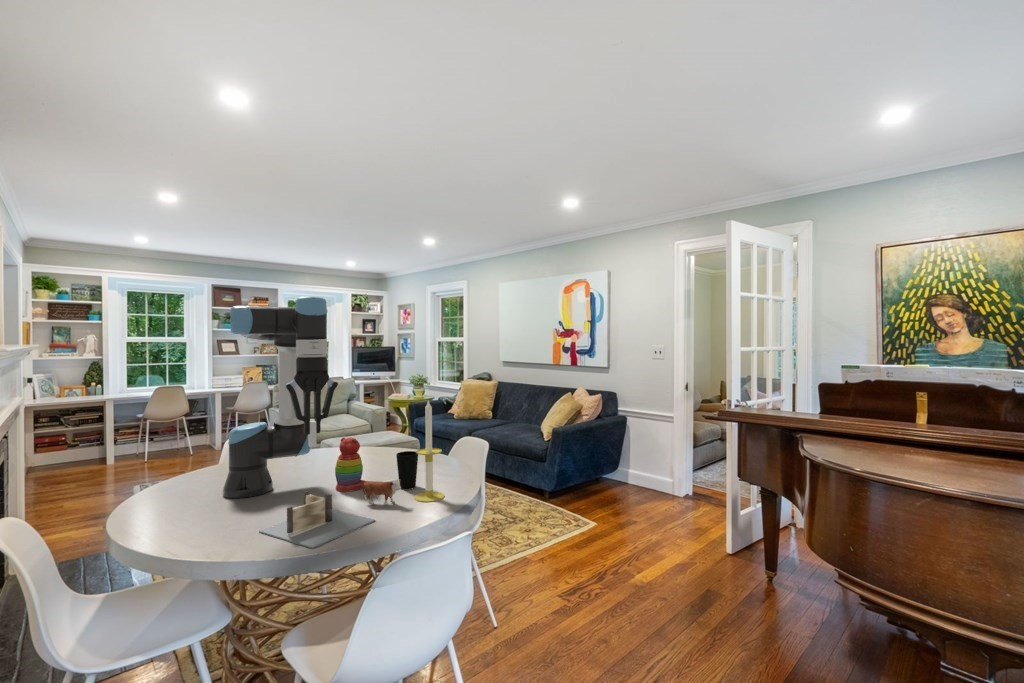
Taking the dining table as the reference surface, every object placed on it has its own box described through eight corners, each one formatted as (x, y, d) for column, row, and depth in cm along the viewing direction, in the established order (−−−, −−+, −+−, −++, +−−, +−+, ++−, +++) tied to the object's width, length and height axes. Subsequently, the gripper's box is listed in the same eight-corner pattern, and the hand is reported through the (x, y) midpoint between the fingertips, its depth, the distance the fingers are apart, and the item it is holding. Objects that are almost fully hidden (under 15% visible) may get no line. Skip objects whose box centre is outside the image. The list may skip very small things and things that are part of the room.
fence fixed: (302, 515, 140) (301, 490, 140) (307, 513, 141) (307, 489, 141) (328, 522, 134) (328, 496, 134) (333, 520, 136) (333, 494, 136)
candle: (443, 501, 152) (442, 400, 152) (412, 502, 151) (411, 401, 151) (445, 492, 162) (444, 397, 162) (415, 493, 161) (415, 398, 161)
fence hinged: (322, 520, 134) (322, 497, 134) (325, 521, 134) (325, 497, 134) (286, 532, 126) (285, 507, 126) (288, 533, 125) (288, 508, 125)
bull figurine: (399, 507, 147) (399, 481, 147) (360, 504, 150) (359, 479, 150) (405, 502, 151) (405, 477, 151) (367, 500, 154) (366, 475, 154)
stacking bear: (371, 485, 170) (371, 436, 170) (351, 493, 161) (350, 441, 161) (348, 482, 175) (348, 434, 175) (327, 489, 166) (327, 439, 166)
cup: (423, 486, 169) (422, 452, 169) (407, 491, 163) (407, 457, 163) (407, 482, 173) (407, 450, 173) (391, 488, 167) (391, 454, 167)
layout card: (259, 532, 128) (259, 530, 128) (324, 508, 147) (324, 507, 147) (312, 549, 117) (312, 547, 117) (375, 521, 136) (375, 519, 136)
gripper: (286, 357, 117) (287, 452, 117) (341, 355, 124) (341, 445, 124) (282, 356, 123) (282, 446, 123) (334, 355, 130) (334, 440, 130)
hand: (312, 446), depth 124 cm, fingers closed
